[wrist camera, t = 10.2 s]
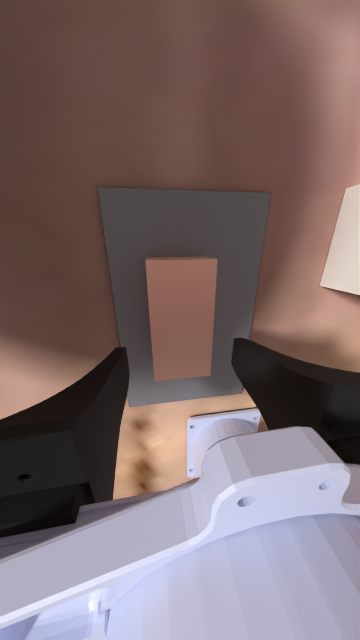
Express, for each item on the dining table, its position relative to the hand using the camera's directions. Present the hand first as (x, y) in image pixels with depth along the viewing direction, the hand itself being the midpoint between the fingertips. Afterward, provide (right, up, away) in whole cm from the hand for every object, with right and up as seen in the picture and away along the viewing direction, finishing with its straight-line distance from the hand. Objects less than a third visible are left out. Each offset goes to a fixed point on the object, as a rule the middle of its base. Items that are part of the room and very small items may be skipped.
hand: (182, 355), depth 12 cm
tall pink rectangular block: (0, +3, +2) cm, 4 cm away
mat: (0, +3, +3) cm, 4 cm away
